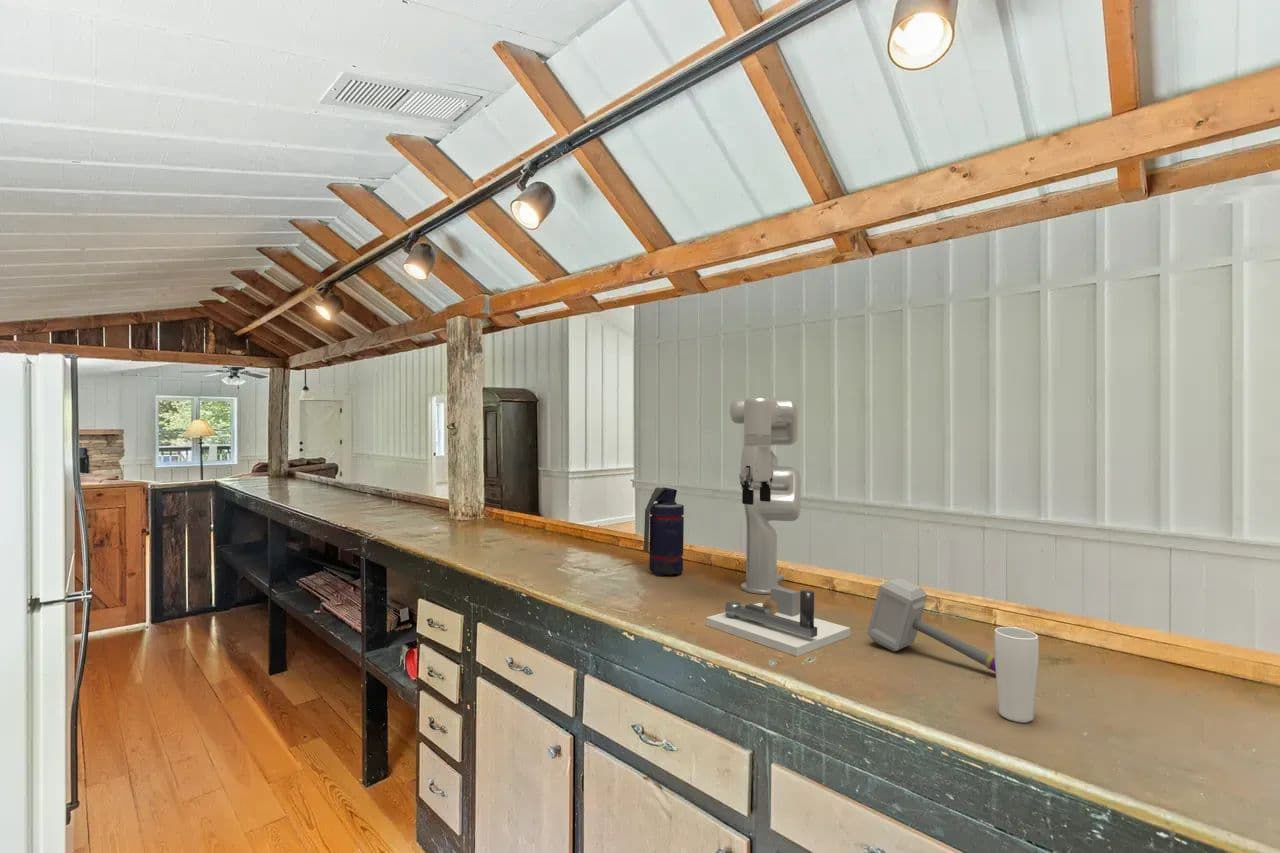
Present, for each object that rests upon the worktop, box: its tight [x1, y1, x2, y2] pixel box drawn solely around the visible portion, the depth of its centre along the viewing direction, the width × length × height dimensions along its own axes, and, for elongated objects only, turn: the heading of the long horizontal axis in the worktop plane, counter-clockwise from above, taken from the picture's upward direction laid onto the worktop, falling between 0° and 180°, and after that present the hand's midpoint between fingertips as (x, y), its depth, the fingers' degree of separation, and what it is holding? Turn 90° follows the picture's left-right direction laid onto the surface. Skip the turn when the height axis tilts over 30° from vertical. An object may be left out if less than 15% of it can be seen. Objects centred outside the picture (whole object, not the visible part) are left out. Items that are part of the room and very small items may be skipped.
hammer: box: [866, 577, 996, 673], centre depth 136 cm, size 15×8×30 cm
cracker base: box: [705, 586, 851, 657], centre depth 155 cm, size 28×22×8 cm
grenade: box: [643, 486, 685, 578], centre depth 216 cm, size 14×12×30 cm
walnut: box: [762, 598, 778, 615], centre depth 160 cm, size 4×4×4 cm
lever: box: [725, 589, 817, 638], centre depth 152 cm, size 26×5×10 cm, turn 42°
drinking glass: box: [993, 626, 1040, 723], centre depth 110 cm, size 7×7×15 cm
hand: (756, 502), depth 172 cm, fingers open, 9 cm apart
